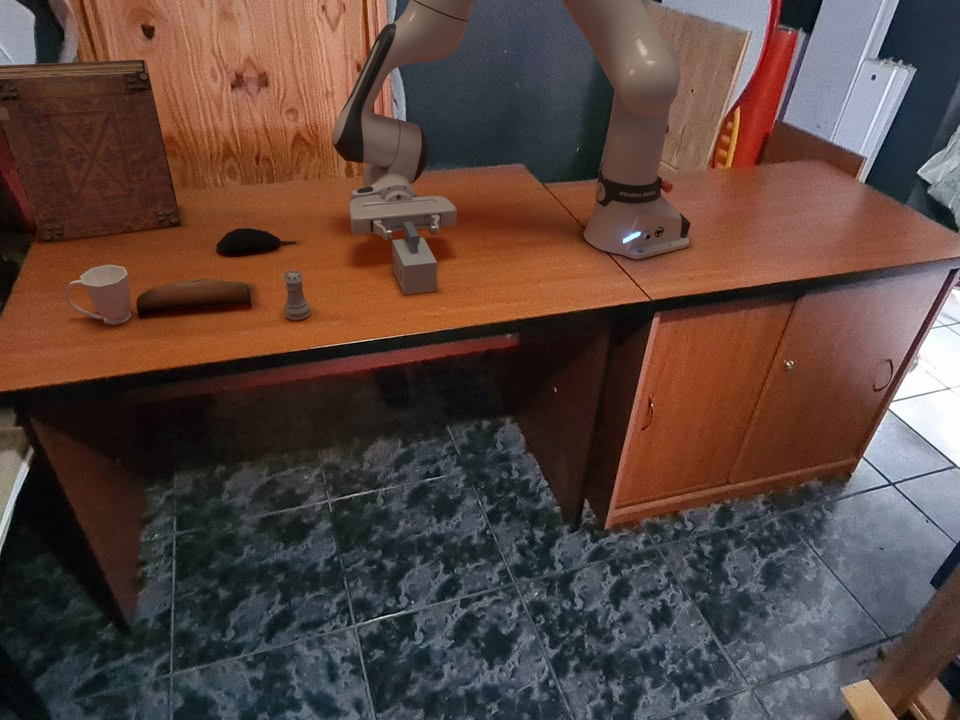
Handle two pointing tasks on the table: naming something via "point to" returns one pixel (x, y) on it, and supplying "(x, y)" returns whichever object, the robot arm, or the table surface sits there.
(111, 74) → the book
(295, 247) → the table surface
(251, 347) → the table surface
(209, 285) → the sunglasses case
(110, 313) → the cup
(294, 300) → the rook chess piece
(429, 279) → the grey box with ridge
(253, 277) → the table surface
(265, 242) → the gaming mouse
